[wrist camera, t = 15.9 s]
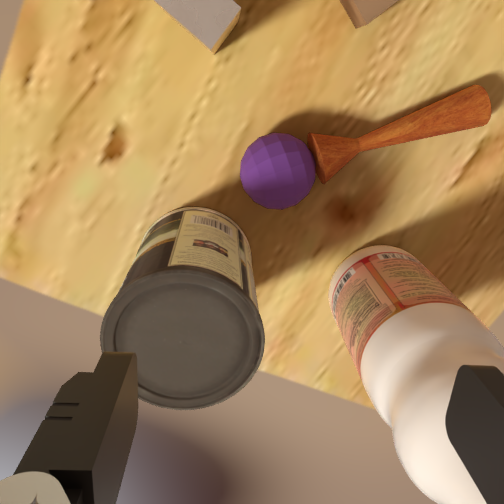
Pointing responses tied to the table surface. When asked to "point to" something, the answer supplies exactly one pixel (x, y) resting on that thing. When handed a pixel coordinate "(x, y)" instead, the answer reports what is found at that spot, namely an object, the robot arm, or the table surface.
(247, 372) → the coffee can
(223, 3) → the lever cap
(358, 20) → the plane body
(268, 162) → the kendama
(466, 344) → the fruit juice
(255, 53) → the table surface
